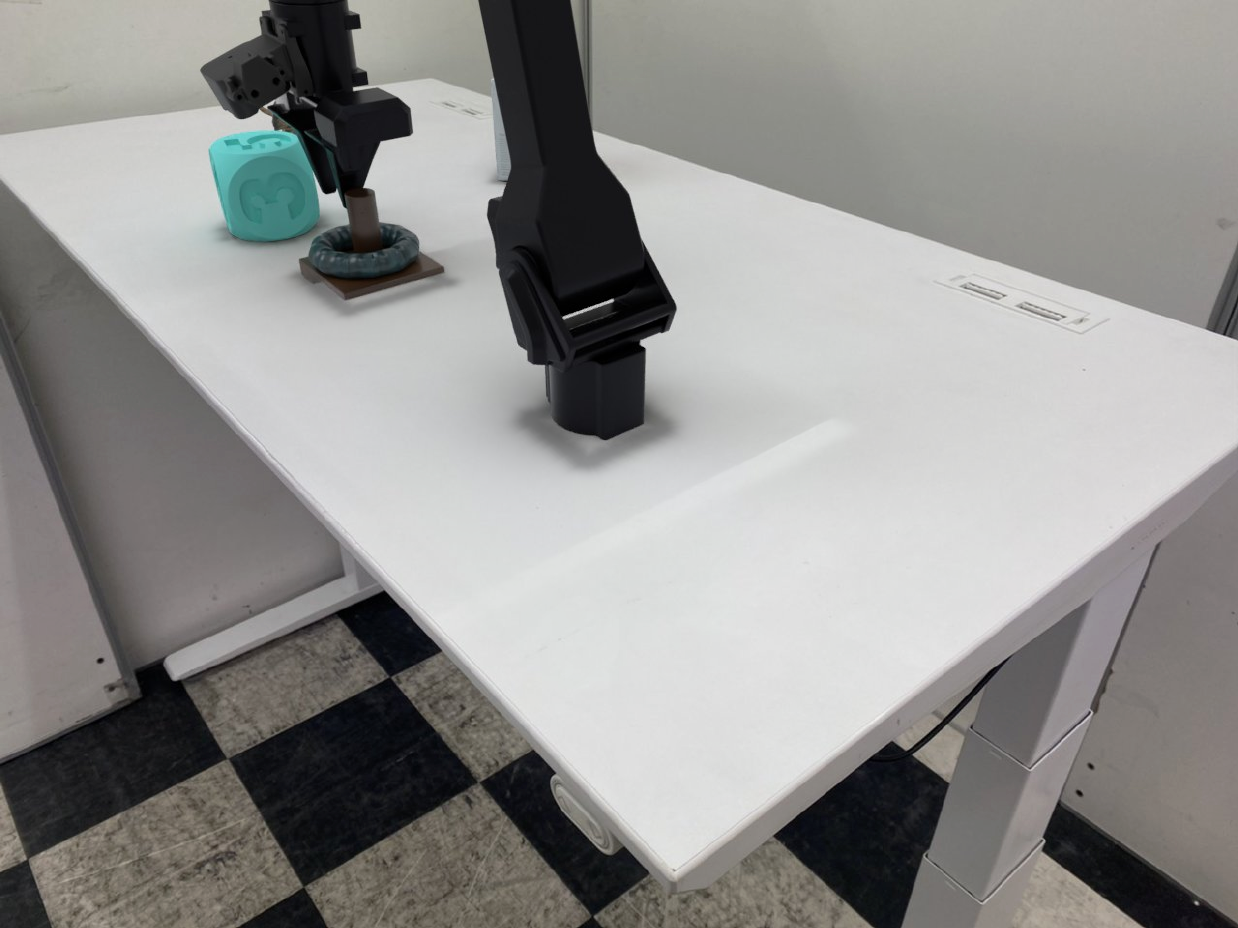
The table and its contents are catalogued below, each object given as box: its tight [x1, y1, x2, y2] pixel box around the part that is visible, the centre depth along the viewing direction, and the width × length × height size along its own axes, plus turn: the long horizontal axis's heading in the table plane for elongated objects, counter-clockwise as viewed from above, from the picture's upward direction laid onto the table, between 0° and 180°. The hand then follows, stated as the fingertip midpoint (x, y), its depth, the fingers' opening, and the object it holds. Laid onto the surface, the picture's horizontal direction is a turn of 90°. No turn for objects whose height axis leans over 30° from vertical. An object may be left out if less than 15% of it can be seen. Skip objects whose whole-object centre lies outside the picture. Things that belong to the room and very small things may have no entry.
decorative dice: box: [207, 130, 321, 242], centre depth 87 cm, size 8×8×8 cm
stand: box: [298, 187, 445, 301], centre depth 77 cm, size 9×9×8 cm
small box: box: [490, 77, 511, 182], centre depth 100 cm, size 8×6×10 cm
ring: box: [307, 221, 420, 279], centre depth 78 cm, size 9×9×2 cm
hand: (339, 200), depth 79 cm, fingers open, 4 cm apart
